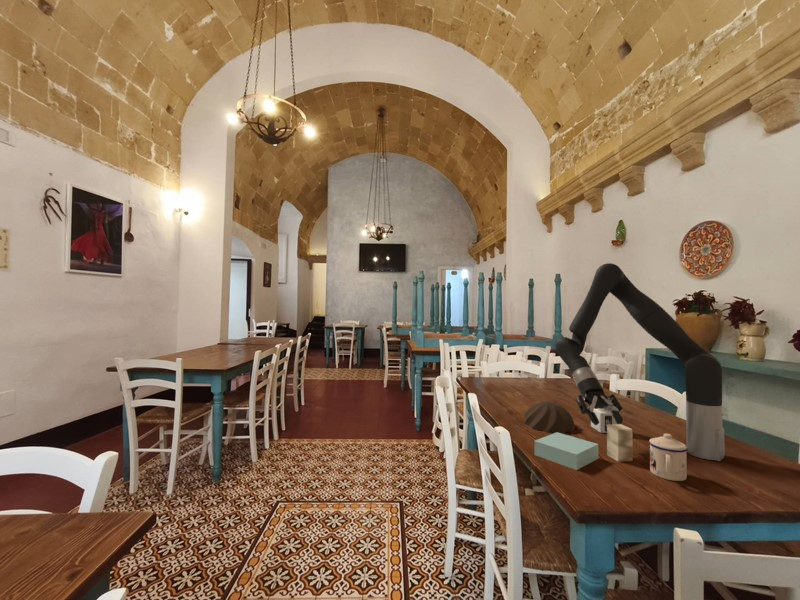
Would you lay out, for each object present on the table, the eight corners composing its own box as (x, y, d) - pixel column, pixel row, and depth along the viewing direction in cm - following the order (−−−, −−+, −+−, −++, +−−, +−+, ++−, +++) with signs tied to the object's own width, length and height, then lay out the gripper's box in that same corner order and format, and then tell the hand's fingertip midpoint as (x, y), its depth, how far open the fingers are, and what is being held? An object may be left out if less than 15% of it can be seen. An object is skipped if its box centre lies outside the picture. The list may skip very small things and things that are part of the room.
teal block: (598, 459, 118) (598, 444, 118) (576, 471, 109) (576, 454, 109) (556, 446, 129) (556, 432, 129) (534, 456, 120) (534, 440, 120)
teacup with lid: (649, 465, 113) (649, 427, 113) (686, 473, 108) (686, 433, 108) (648, 480, 103) (648, 438, 103) (689, 489, 98) (689, 445, 98)
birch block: (621, 454, 121) (620, 424, 121) (632, 460, 116) (632, 429, 116) (607, 455, 120) (607, 424, 121) (618, 461, 115) (618, 429, 116)
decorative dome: (519, 428, 147) (519, 403, 147) (528, 415, 164) (528, 393, 165) (572, 437, 138) (572, 410, 138) (576, 422, 155) (576, 399, 155)
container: (620, 433, 142) (620, 399, 142) (600, 433, 142) (600, 399, 142) (609, 426, 149) (609, 394, 149) (590, 426, 149) (590, 394, 150)
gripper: (573, 377, 131) (594, 418, 120) (609, 376, 133) (634, 417, 122) (565, 388, 137) (584, 429, 125) (600, 387, 138) (622, 428, 127)
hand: (608, 423), depth 123 cm, fingers open, 8 cm apart
